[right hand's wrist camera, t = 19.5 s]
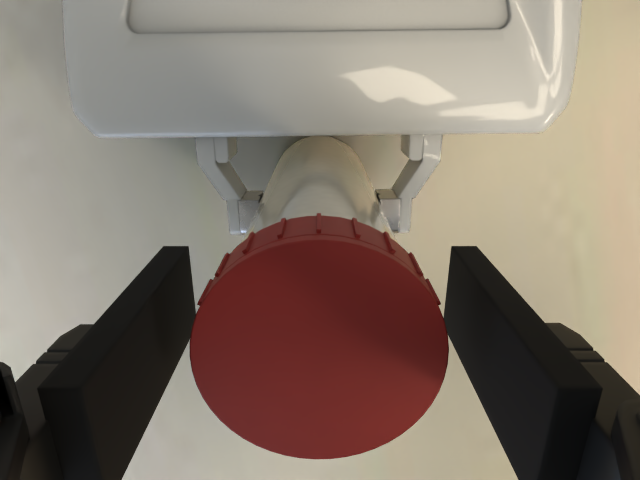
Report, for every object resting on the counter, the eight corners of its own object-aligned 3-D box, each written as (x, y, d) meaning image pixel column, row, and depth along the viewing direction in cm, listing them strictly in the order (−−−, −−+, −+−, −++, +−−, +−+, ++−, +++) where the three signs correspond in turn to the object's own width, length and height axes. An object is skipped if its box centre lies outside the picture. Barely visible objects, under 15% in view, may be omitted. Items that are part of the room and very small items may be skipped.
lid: (254, 172, 11) (242, 190, 9) (478, 270, 12) (504, 303, 10) (173, 368, 13) (152, 413, 11) (370, 439, 14) (377, 490, 12)
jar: (284, 231, 28) (237, 443, 12) (265, 144, 27) (180, 259, 10) (370, 216, 28) (439, 415, 12) (358, 127, 26) (419, 219, 10)
